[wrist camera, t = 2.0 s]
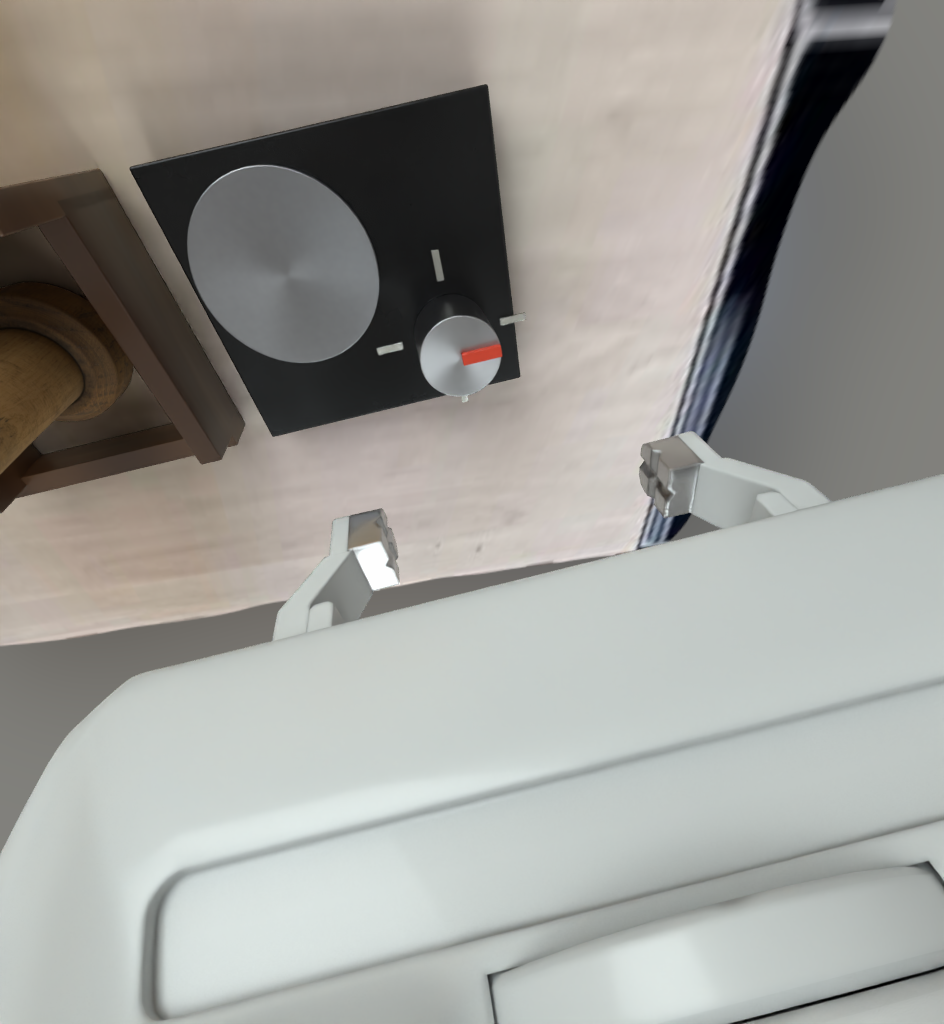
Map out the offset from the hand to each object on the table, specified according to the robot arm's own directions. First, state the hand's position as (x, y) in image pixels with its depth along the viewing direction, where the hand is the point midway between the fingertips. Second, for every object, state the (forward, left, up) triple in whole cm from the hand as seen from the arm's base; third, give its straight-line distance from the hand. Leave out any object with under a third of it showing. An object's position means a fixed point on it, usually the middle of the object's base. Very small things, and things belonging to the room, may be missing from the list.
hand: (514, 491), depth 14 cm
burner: (-7, +5, -14) cm, 17 cm away
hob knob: (0, 0, -14) cm, 14 cm away
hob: (-4, +3, -17) cm, 18 cm away
